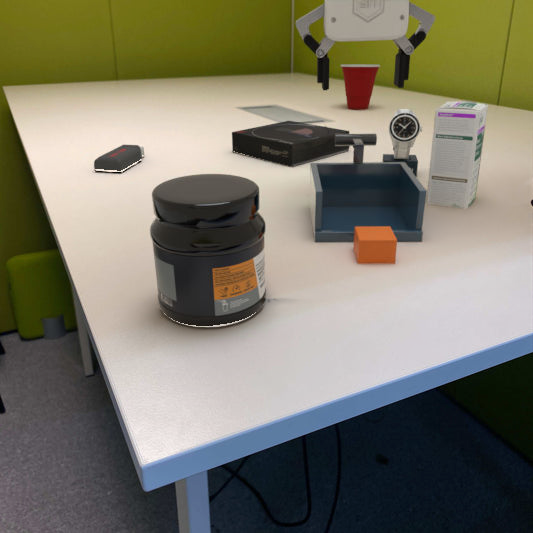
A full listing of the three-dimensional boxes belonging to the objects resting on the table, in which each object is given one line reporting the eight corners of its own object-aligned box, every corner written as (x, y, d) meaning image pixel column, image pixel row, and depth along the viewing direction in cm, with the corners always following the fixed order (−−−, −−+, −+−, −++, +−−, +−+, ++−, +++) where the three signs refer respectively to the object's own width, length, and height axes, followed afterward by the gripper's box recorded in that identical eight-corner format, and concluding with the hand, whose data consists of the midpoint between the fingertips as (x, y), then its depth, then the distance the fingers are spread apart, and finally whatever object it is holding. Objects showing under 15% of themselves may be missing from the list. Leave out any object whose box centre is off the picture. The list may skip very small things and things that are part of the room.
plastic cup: (377, 105, 160) (380, 61, 155) (377, 111, 150) (380, 65, 145) (339, 104, 162) (341, 61, 157) (337, 110, 152) (339, 65, 147)
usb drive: (94, 172, 98) (92, 157, 97) (124, 155, 109) (123, 141, 108) (121, 173, 97) (119, 158, 96) (149, 156, 108) (147, 142, 107)
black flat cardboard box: (350, 150, 110) (351, 130, 109) (292, 166, 100) (292, 144, 98) (290, 138, 121) (291, 120, 119) (232, 152, 110) (231, 132, 109)
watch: (383, 182, 91) (388, 114, 86) (381, 169, 98) (386, 105, 93) (417, 183, 90) (425, 114, 85) (413, 169, 97) (420, 106, 92)
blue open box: (307, 200, 80) (309, 133, 76) (394, 199, 80) (400, 132, 75) (314, 247, 65) (316, 167, 61) (421, 247, 65) (431, 166, 60)
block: (397, 239, 58) (394, 273, 60) (390, 226, 62) (387, 258, 63) (359, 240, 58) (357, 273, 60) (354, 226, 62) (352, 258, 63)
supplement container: (288, 311, 53) (288, 190, 47) (191, 347, 47) (179, 216, 42) (230, 272, 60) (225, 165, 55) (141, 300, 55) (126, 184, 50)
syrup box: (466, 217, 75) (483, 108, 69) (423, 211, 78) (435, 105, 71) (474, 205, 79) (490, 102, 73) (433, 199, 82) (445, 99, 76)
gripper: (295, -64, 62) (297, 94, 69) (450, -70, 61) (435, 89, 69) (293, -57, 68) (295, 86, 76) (433, -63, 68) (421, 82, 75)
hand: (361, 87), depth 72 cm, fingers open, 9 cm apart
